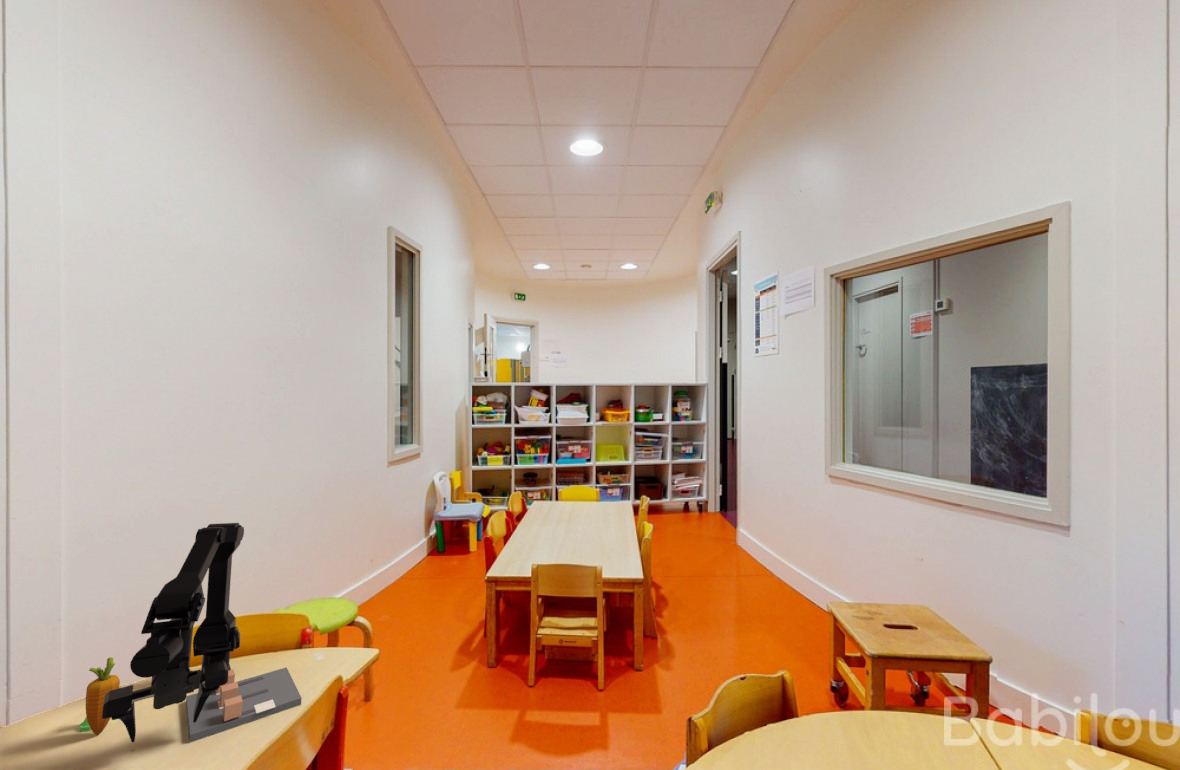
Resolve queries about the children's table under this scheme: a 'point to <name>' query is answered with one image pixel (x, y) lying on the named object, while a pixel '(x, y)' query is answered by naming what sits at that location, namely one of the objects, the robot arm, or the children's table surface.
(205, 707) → the switch console
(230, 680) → the slider far
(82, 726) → the game piece
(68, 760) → the children's table surface
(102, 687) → the carrot
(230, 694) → the slider middle
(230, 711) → the slider near
